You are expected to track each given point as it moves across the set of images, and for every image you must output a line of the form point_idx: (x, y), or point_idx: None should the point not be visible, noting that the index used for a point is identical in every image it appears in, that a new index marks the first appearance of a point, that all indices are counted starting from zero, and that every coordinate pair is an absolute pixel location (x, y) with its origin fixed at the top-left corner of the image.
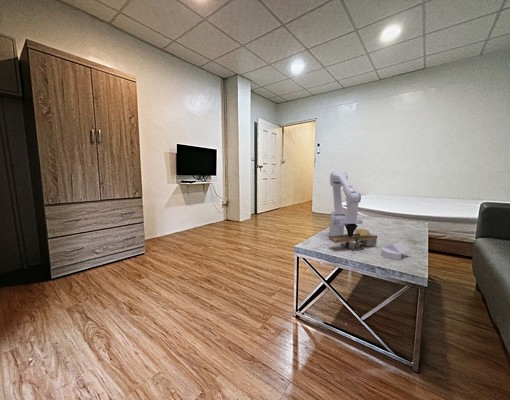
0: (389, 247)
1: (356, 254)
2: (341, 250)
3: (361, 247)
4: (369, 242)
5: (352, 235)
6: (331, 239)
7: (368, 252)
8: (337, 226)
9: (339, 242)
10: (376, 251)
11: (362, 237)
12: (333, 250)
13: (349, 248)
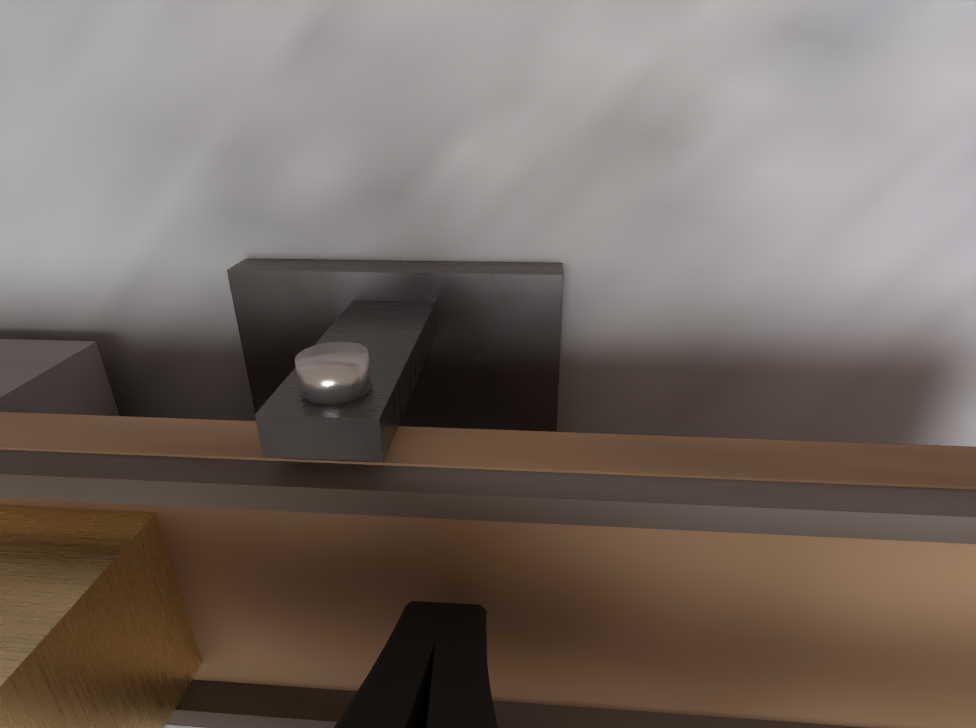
0: None
1: (636, 49)
2: (776, 354)
3: (270, 307)
4: None
5: (403, 625)
6: None
7: (244, 80)
8: None
9: None
10: (11, 81)
11: (86, 473)
12: (946, 401)
13: (558, 362)
